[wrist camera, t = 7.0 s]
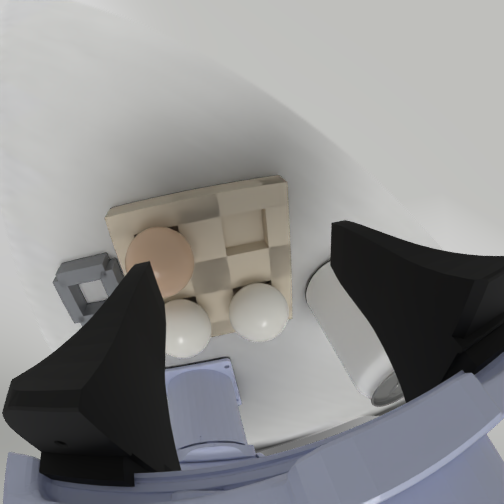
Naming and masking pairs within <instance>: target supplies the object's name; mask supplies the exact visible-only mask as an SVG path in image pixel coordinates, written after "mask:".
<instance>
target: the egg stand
mask: <svg viewBox="0 0 504 504" xmlns="http://www.w3.org/2000/svg"><path fill="white" fill-rule="evenodd" d="M55 275H56V277H55V279H54V281H53V284H54V286H55V288H56V290H57V292H58V294H59V296H60V298H61V300H62V302H63V304H64V305H65V307H66V309H67V311H68V313H69V314H70V316H71V318H72V320H73V322H74V323H81V325H82V326H84V325H85V324H86V323H87V322H88V321H89V320H90V318H91V317H92V316H93V315H94V314H95V313H96V312H97V311H98V309H99V308H100V307H101V306H102V305H103V303H104V302H105V301H106V300H105V301H100V302H94V303H89V304H87V302H86V300H85V298H84V296H83V294H82V292H81V290H80V288H79V286H78V284H81V283H86V282H91V281H95V280H100V279H101V281H102V284H103V286H104V288H105V290H106V293H107V295H108V297H109V296H110V295H111V294H112V292H113V291H114V290H115V288H116V287H117V286H118V285H119V283H120V282H121V281H122V279H123V275H122V272H121V270H120V267H119V264H118V262H117V259H116V258H115V259H110V260H109V258H108V255H107V253H104V254H100V255H95V256H91V257H87V258H82V259H78V260H74V261H70V262H66V263H62V264H61V266H60V267H59V269H58V271H57V273H56V274H55Z"/></svg>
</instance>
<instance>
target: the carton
mask: <svg viewBox="0 0 504 504" xmlns="http://www.w3.org/2000/svg"><path fill="white" fill-rule="evenodd" d="M105 221H106V224H107V227H108V230H109V233H110V236H111V239H112V242H113V245H114V248H115V251H116V254H117V257H118V259H119V262H120V265H121V268H122V270H123V273H124V275H126V274H127V273H126V269H125V256H126V252H127V249H128V247H129V245H130V243H131V241H132V240H133V239H134V238H135V237H136V236H137V235H138V234H139V233H141V232H142V231H144V230H146V229H149V228H152V227H167V228H170V229H173V230H175V231H177V232H178V233H180V234H181V235H182V236H183V237H184V238H185V239H186V240H187V241H188V243H189V244H190V246H191V248H192V251H193V254H194V271H193V274H192V277H191V279H190V281H189V283H188V284H187V285H186V287H185V288H184V289H182V290H181V291H180V292H179V293H177V294H175V295H173V296H170V297H166V298H163V300H164V303H167V302H169V301H172V300H176V299H186V300H190V301H192V302H195V303H197V304H198V305H199V306H201V307H202V308H203V309H204V310H205V312H206V313H207V315H208V317H209V319H210V322H211V337H215V336H220V335H224V334H229V333H234V332H236V331H235V330H234V329H233V327H232V325H231V322H230V319H229V307H230V303H231V301H232V299H233V297H234V295H235V294H236V293H237V292H238V291H239V290H240V289H242V288H243V287H245V286H247V285H249V284H254V283H264V284H268V285H271V286H273V287H275V288H276V289H278V290H279V291H280V292H281V293H282V294H283V296H284V297H285V299H286V301H287V304H288V308H289V317H288V320H289V319H292V281H291V251H290V227H289V206H288V188H287V181H285V180H284V179H283V178H282V177H281V176H279V175H275V176H268V177H262V178H255V179H249V180H243V181H237V182H231V183H225V184H220V185H214V186H209V187H203V188H198V189H193V190H188V191H183V192H178V193H173V194H169V195H164V196H159V197H155V198H150V199H146V200H142V201H137V202H133V203H129V204H125V205H121V206H117V207H113V208H110V210H109V211H108V213H107V215H106V216H105Z"/></svg>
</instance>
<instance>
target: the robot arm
mask: <svg viewBox="0 0 504 504" xmlns="http://www.w3.org/2000/svg"><path fill="white" fill-rule="evenodd" d="M330 266H331V268H332V270H333V271H334V273H335V275H336V277H337V279H338V281H339V282H340V284H341V285H342V287H343V288H344V290H345V291H346V292H347V294H348V295H349V296H350V298H351V299H352V300H353V302H354V303H355V304H356V306H357V307H358V308H359V310H360V311H361V312H362V314H363V315H364V316H365V318H366V319H367V320H368V322H369V323H370V325H371V326H372V328H373V329H374V331H375V333H376V335H377V337H378V339H379V340H380V342H381V344H382V346H383V348H384V350H385V352H386V354H387V356H388V358H389V360H390V362H391V364H392V367H393V369H394V371H395V374H396V376H397V379H398V381H399V384H400V386H401V389H402V392H403V395H404V398H405V401H406V404H404V405H402V406H400V407H398V408H396V409H394V410H392V411H390V412H388V413H386V414H384V415H381V416H379V417H377V418H375V419H373V420H371V421H368V422H366V423H364V424H361V425H359V426H356V427H354V428H352V429H349V430H347V431H344V432H341V433H339V434H336V435H334V436H331V437H328V438H325V439H323V440H319V441H316V442H313V443H310V444H307V445H305V446H301V447H298V448H294V449H291V450H287V451H284V452H280V453H276V454H273V455H268V456H265V455H264V454H262V453H255V449H254V446H253V445H248V444H247V440H246V436H245V432H244V428H243V424H242V420H241V416H240V412H239V408H238V406H239V405H241V404H242V402H241V398H240V395H239V391H238V387H237V384H236V380H235V376H234V372H233V368H232V364H231V360H230V359H228V358H224V359H219V360H215V361H209V362H204V363H199V364H193V365H188V366H182V367H176V368H170V369H165V348H166V313H165V303H164V300H163V297H162V295H161V292H160V289H159V286H158V284H157V281H156V278H155V275H154V272H153V269H152V266H151V263H150V261H147V262H143V263H138V264H135V265H134V266H133V267H132V268H131V269H130V270H129V272H128V273H127V274H126V275H125V277H124V278H123V279H122V281H121V282H120V283H119V285H118V286H117V287H116V288H115V290H114V291H113V292H112V294H111V295H110V296H109V297H108V299H107V300H106V301H105V302H104V303H103V305H102V306H101V307H100V308H99V309H98V311H97V312H96V313H95V314H94V315H93V316H92V317H91V318H90V320H89V321H88V322H87V323H86V324H85V325H84V326H83V327H82V328H81V329H80V330H79V331H78V332H77V333H76V334H74V335H73V336H72V337H71V338H70V339H69V340H68V341H66V342H65V343H64V344H63V345H62V346H61V347H60V348H58V349H57V350H56V351H55V352H53V353H52V354H51V355H49V356H48V357H47V358H45V359H44V360H42V361H41V362H40V363H38V364H37V365H35V366H34V367H32V368H30V369H29V370H27V371H26V372H24V373H22V374H21V375H19V376H17V377H16V378H14V379H12V381H11V384H10V387H9V391H8V394H7V397H6V401H5V405H4V409H3V412H2V414H3V417H4V419H5V421H6V422H7V424H8V425H9V426H10V427H11V428H12V429H13V430H14V431H15V432H16V433H17V434H19V435H20V436H21V437H22V438H24V439H25V440H26V441H28V442H29V443H30V444H31V445H33V446H34V447H36V448H37V449H38V450H40V451H41V459H38V458H35V457H32V456H29V455H23V454H18V453H13V452H9V453H8V458H7V466H6V473H5V483H4V496H3V504H504V462H503V460H502V458H501V457H500V455H499V453H498V452H497V450H496V449H495V447H494V445H493V444H492V442H491V441H490V439H489V438H488V436H487V433H488V432H489V431H490V430H492V429H493V428H494V427H495V426H496V425H497V424H498V423H499V422H500V421H501V420H502V419H503V418H504V256H478V255H467V254H460V253H452V252H448V251H442V250H437V249H433V248H429V247H425V246H421V245H418V244H414V243H411V242H408V241H405V240H402V239H399V238H396V237H393V236H390V235H387V234H385V233H382V232H379V231H377V230H374V229H371V228H368V227H366V226H363V225H360V224H357V223H354V222H350V221H346V220H344V221H339V222H334V223H332V231H331V262H330ZM226 365H227V366H226ZM167 397H168V402H167Z"/></svg>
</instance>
